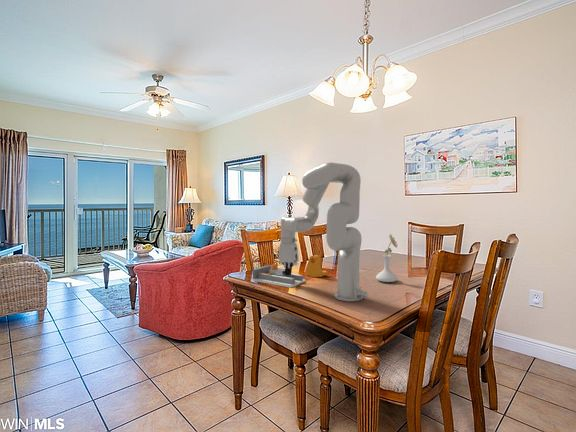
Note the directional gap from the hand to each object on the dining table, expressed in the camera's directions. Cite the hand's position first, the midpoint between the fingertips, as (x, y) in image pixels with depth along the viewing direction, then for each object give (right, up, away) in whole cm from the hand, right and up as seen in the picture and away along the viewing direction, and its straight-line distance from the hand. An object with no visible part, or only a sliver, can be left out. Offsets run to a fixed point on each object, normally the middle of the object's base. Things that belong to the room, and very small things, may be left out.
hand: (288, 275), depth 165 cm
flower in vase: (+53, -4, +2) cm, 54 cm away
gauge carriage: (-5, -3, +3) cm, 7 cm away
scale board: (-5, -4, +4) cm, 7 cm away
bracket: (+16, -4, +16) cm, 23 cm away
